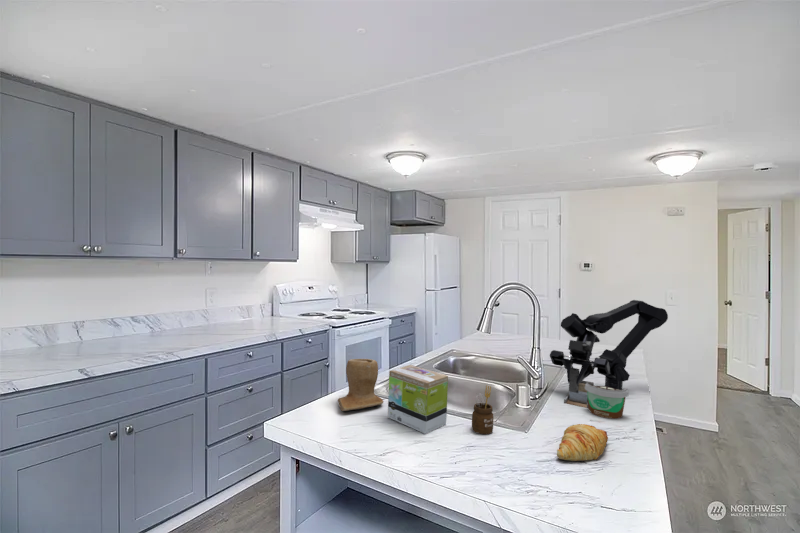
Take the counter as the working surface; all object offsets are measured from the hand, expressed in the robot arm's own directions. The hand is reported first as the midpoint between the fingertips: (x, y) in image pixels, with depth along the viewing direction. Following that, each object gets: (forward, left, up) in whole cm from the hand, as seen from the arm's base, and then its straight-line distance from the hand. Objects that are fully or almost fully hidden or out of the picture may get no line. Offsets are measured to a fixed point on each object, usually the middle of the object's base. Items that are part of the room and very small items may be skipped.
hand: (572, 382), depth 136 cm
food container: (+7, +11, -8) cm, 15 cm away
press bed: (-5, +2, -8) cm, 9 cm away
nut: (-8, +2, -6) cm, 11 cm away
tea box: (+43, -35, -8) cm, 56 cm away
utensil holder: (+37, -17, -8) cm, 42 cm away
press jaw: (-1, +2, -6) cm, 6 cm away
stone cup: (+43, -57, -8) cm, 72 cm away
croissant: (+33, +8, -8) cm, 35 cm away
